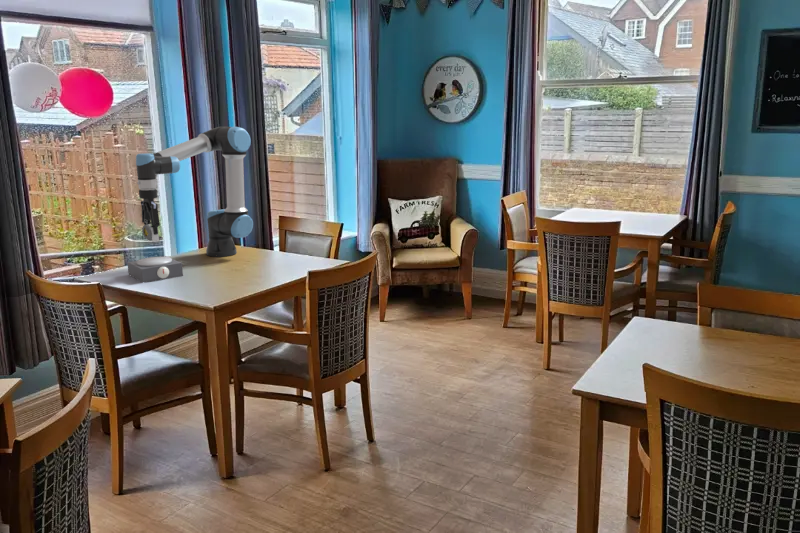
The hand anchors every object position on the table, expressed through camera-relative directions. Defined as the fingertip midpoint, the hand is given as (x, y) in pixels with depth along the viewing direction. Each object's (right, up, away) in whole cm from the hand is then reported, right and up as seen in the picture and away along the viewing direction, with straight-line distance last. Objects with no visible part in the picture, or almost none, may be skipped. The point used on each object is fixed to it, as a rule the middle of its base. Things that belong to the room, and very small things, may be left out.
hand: (152, 240), depth 303 cm
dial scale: (0, -16, +4) cm, 16 cm away
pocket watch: (0, 0, 0) cm, 1 cm away
